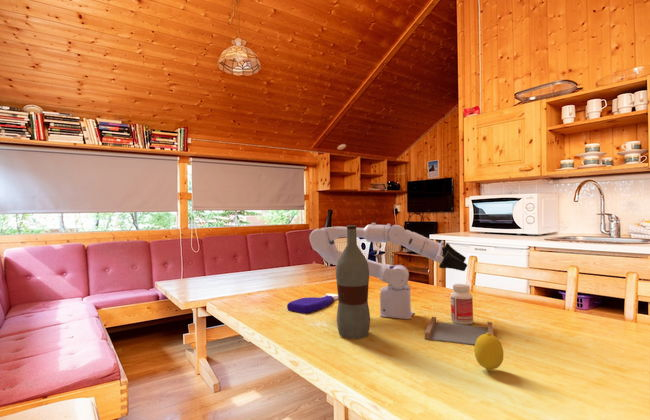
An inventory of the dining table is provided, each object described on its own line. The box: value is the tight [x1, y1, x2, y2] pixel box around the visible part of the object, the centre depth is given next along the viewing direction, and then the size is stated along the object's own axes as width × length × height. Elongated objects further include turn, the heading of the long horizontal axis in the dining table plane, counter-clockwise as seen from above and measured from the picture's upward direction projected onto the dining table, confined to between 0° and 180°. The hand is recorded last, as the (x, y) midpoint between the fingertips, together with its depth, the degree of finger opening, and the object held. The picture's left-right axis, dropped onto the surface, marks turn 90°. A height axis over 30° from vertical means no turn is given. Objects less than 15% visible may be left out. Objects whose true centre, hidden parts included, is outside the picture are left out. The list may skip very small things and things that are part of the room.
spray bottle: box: [286, 293, 338, 315], centre depth 134 cm, size 3×11×24 cm
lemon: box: [473, 333, 504, 372], centre depth 76 cm, size 6×6×8 cm
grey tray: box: [424, 316, 494, 346], centre depth 99 cm, size 16×15×2 cm
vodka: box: [335, 224, 371, 340], centre depth 101 cm, size 9×9×30 cm
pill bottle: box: [450, 283, 474, 325], centre depth 109 cm, size 6×6×11 cm
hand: (465, 264), depth 112 cm, fingers open, 7 cm apart
